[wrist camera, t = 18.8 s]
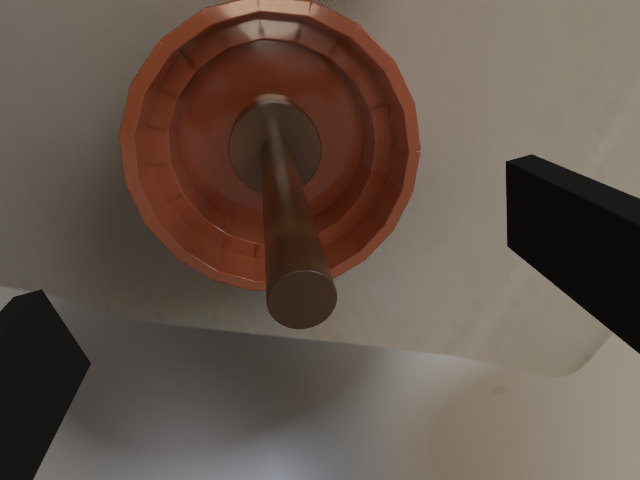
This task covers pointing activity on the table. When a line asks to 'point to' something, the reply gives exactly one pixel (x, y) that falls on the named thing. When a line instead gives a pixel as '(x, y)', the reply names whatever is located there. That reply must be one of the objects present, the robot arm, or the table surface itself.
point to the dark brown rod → (285, 207)
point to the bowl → (238, 93)
